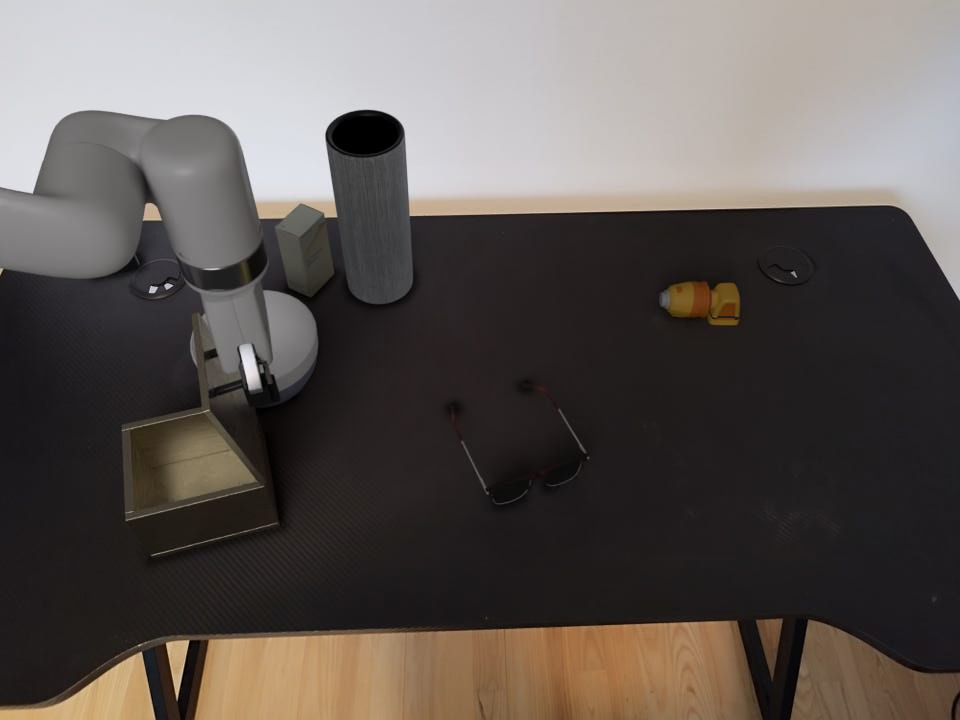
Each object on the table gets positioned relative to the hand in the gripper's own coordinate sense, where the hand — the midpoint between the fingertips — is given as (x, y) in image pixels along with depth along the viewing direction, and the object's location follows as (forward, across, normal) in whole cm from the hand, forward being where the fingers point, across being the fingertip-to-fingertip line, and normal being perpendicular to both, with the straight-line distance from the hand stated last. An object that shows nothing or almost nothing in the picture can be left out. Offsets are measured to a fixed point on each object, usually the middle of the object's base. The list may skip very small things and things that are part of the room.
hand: (260, 375), depth 83 cm
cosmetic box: (+21, -33, +8) cm, 40 cm away
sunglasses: (+21, +3, +28) cm, 35 cm away
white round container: (+21, -16, -1) cm, 27 cm away
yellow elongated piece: (+21, -11, +62) cm, 67 cm away
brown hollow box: (+21, 0, -10) cm, 23 cm away
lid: (+3, 0, -4) cm, 5 cm away
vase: (+21, -30, +18) cm, 41 cm away
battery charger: (+22, -44, -20) cm, 53 cm away
